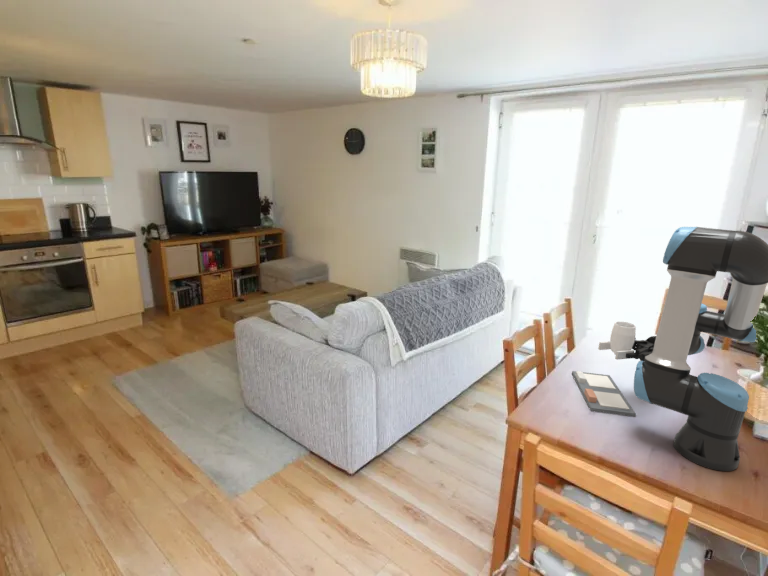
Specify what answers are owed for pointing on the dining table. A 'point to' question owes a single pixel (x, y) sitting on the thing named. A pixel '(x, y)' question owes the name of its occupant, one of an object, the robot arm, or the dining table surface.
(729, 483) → the dining table surface
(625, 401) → the coaster board
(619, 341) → the cup
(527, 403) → the dining table surface
